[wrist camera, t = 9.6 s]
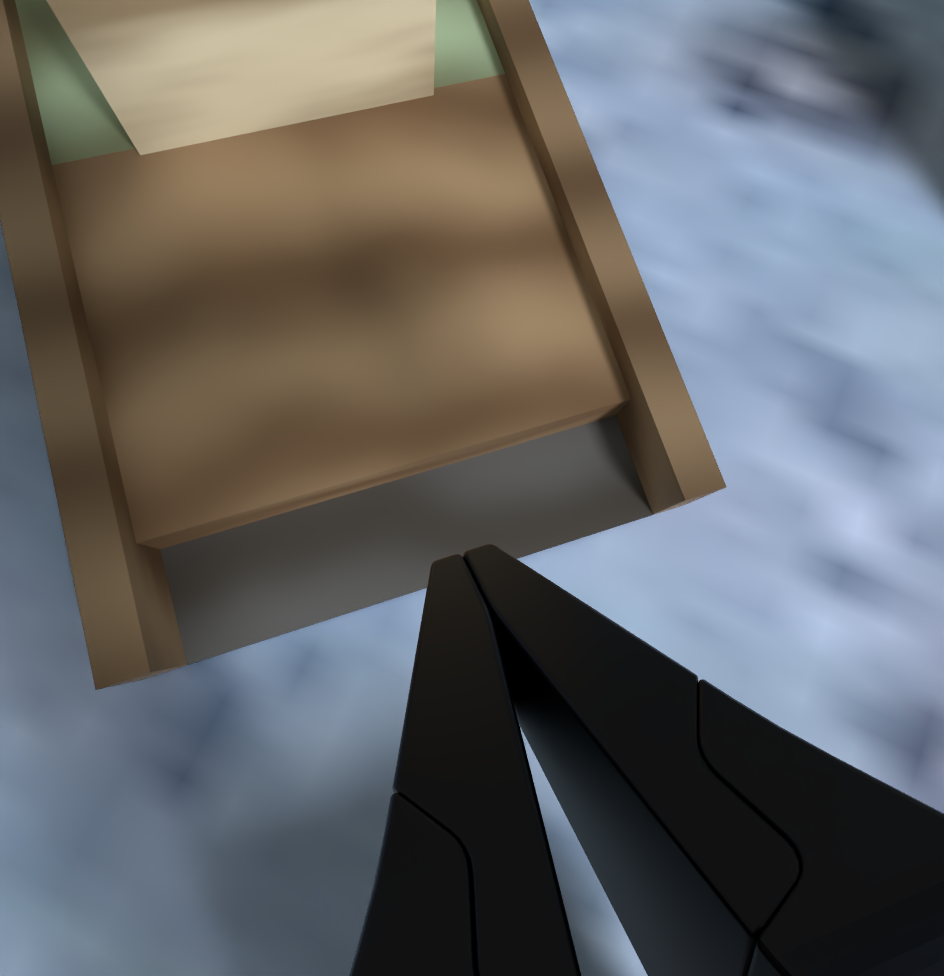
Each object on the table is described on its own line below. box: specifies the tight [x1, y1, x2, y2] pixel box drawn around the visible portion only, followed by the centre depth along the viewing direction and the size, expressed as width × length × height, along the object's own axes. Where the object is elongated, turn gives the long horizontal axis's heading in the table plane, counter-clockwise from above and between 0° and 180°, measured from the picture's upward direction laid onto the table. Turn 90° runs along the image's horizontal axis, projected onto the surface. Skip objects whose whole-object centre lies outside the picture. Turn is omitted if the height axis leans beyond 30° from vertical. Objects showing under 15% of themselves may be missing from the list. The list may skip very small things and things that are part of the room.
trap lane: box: [0, 0, 726, 690], centre depth 23 cm, size 36×20×4 cm, turn 18°
